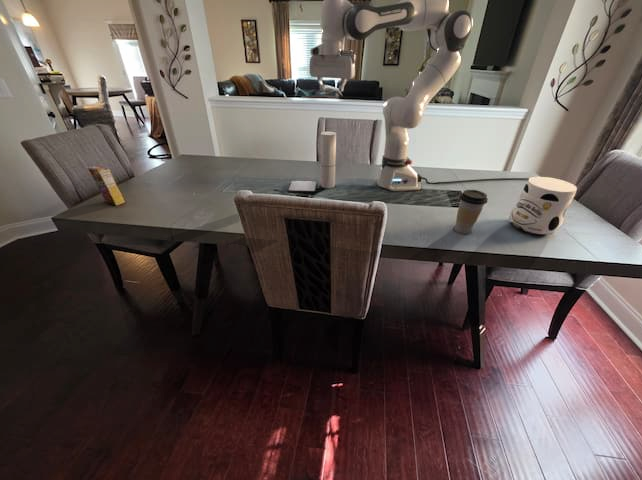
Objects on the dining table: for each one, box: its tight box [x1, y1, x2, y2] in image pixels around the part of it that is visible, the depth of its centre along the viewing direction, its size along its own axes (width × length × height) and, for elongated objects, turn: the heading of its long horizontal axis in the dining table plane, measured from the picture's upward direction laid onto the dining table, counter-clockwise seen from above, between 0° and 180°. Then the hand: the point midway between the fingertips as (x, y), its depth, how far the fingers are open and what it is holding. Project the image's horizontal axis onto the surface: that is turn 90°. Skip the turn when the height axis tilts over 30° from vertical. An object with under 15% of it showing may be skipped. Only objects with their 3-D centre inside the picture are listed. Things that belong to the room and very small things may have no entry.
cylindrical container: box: [320, 131, 337, 189], centre depth 138 cm, size 7×7×25 cm
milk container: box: [508, 176, 578, 236], centre depth 107 cm, size 17×17×18 cm
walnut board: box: [287, 180, 318, 194], centre depth 142 cm, size 13×13×1 cm
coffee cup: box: [454, 189, 489, 235], centre depth 106 cm, size 9×9×15 cm
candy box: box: [87, 165, 126, 206], centre depth 122 cm, size 9×4×15 cm, turn 60°
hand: (331, 90), depth 122 cm, fingers open, 8 cm apart
